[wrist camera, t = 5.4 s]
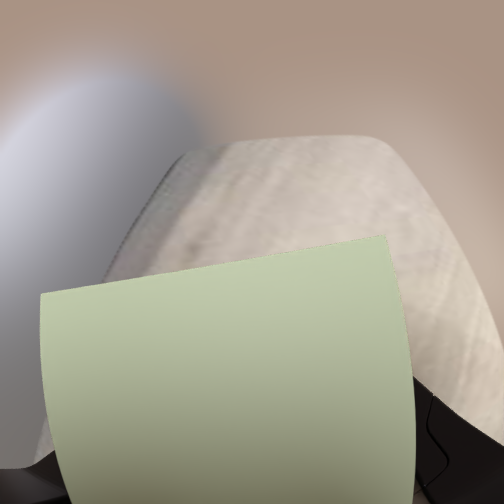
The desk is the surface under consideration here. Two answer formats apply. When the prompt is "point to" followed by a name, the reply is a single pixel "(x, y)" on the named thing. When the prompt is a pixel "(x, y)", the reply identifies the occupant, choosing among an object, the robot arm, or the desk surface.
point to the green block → (235, 383)
